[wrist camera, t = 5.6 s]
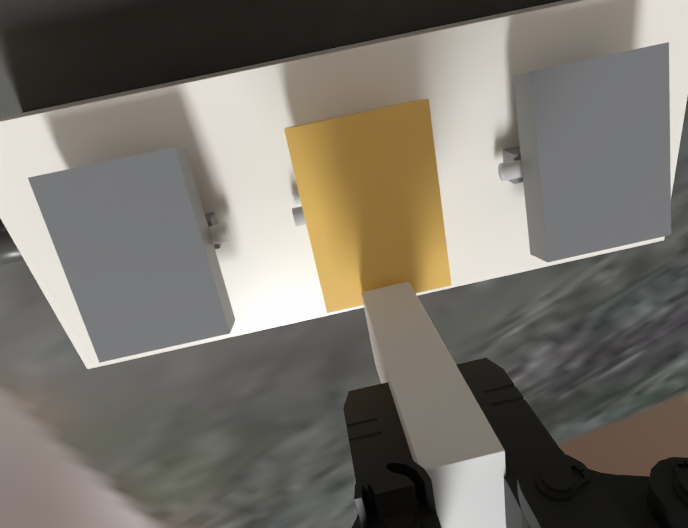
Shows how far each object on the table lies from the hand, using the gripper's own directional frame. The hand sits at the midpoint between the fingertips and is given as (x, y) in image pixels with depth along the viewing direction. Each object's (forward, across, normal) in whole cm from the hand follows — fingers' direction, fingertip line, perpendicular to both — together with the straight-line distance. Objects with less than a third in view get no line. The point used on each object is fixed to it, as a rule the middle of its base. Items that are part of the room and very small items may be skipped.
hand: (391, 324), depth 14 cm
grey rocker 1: (+2, -7, +3) cm, 8 cm away
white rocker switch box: (+7, -2, +4) cm, 8 cm away
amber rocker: (+2, 0, +3) cm, 4 cm away
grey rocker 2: (+2, +7, +3) cm, 8 cm away
